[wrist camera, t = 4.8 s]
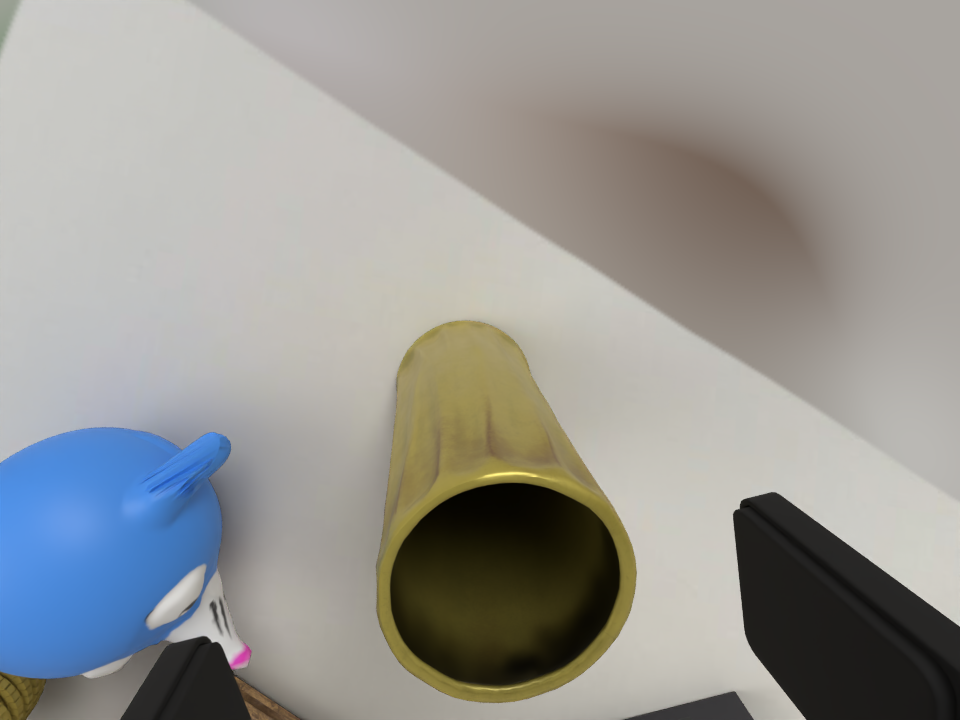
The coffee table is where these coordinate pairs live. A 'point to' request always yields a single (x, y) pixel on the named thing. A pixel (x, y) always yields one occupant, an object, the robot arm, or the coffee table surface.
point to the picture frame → (262, 705)
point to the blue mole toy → (109, 552)
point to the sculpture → (18, 696)
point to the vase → (493, 528)
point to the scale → (704, 710)
